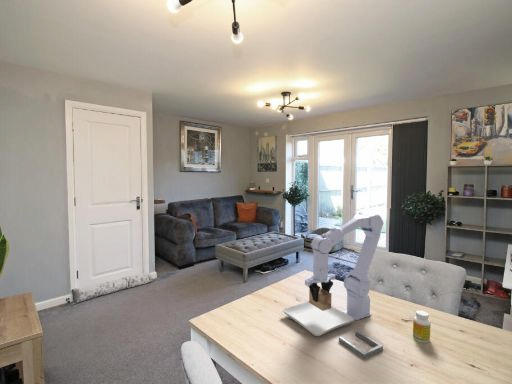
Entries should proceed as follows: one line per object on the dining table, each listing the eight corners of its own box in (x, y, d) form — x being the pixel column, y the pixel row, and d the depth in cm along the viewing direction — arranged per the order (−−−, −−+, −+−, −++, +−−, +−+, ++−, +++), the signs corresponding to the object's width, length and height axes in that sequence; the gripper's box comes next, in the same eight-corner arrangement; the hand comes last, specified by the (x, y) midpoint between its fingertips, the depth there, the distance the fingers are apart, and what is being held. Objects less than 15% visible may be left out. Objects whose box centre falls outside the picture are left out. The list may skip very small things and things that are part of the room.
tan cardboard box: (317, 300, 116) (317, 286, 116) (331, 308, 109) (331, 293, 109) (309, 302, 114) (309, 288, 114) (322, 311, 107) (323, 296, 107)
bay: (357, 333, 104) (357, 330, 104) (382, 350, 94) (383, 345, 94) (338, 341, 99) (338, 337, 99) (364, 359, 90) (364, 354, 90)
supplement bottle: (424, 344, 98) (425, 318, 97) (409, 336, 102) (410, 311, 102) (433, 340, 100) (434, 314, 99) (418, 332, 105) (419, 308, 104)
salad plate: (355, 326, 110) (355, 317, 110) (316, 343, 99) (316, 334, 99) (317, 304, 128) (317, 297, 128) (281, 317, 117) (281, 309, 117)
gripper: (313, 273, 104) (312, 307, 105) (341, 266, 111) (340, 299, 112) (301, 267, 110) (301, 300, 111) (328, 261, 117) (327, 292, 118)
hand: (320, 299), depth 112 cm, fingers closed on tan cardboard box, 4 cm apart
